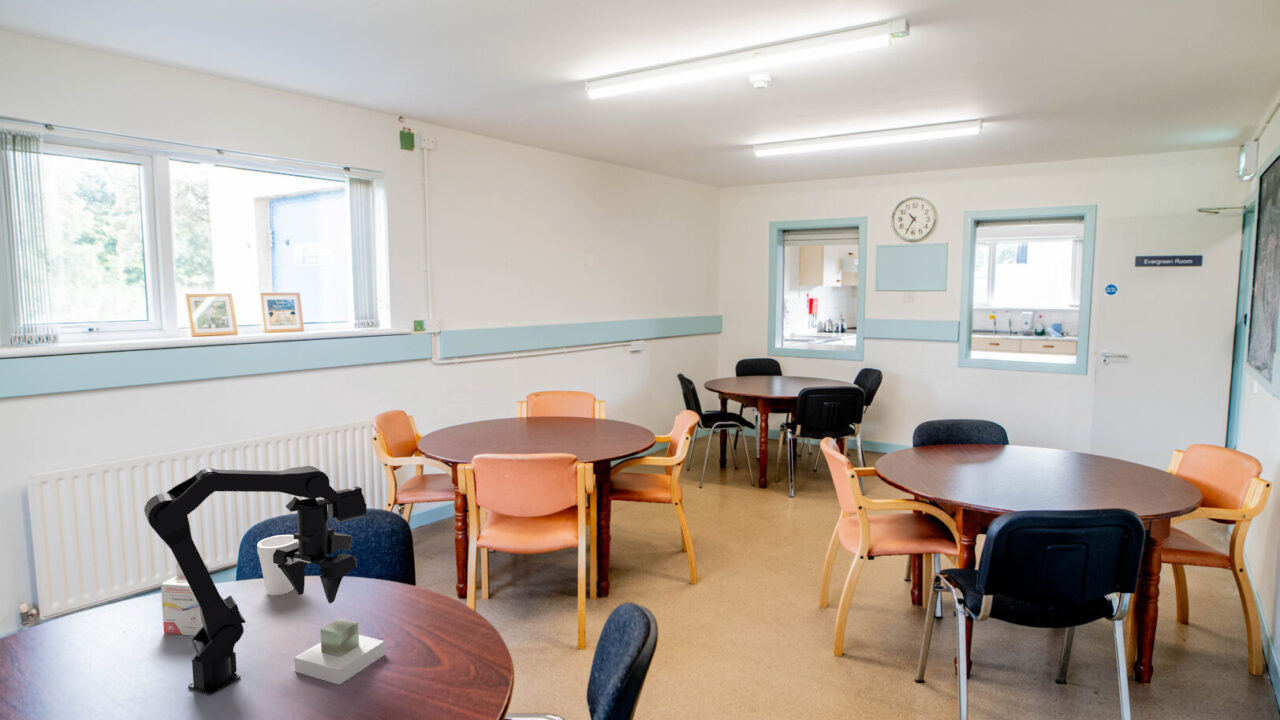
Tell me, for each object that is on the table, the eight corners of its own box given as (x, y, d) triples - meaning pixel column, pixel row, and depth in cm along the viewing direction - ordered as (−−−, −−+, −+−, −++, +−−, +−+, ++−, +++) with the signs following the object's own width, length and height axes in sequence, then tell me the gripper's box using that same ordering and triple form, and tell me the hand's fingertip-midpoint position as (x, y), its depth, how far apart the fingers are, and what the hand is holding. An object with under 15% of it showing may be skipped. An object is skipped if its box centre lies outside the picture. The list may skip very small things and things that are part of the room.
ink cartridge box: (162, 634, 150) (158, 571, 149) (179, 623, 155) (175, 562, 154) (197, 636, 149) (193, 572, 148) (214, 625, 154) (210, 563, 153)
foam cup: (288, 598, 168) (285, 548, 167) (252, 598, 168) (249, 547, 167) (308, 582, 177) (305, 534, 176) (273, 582, 178) (271, 534, 176)
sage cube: (339, 657, 135) (338, 633, 134) (321, 652, 137) (320, 628, 136) (359, 645, 139) (358, 622, 139) (341, 640, 141) (340, 618, 141)
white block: (339, 684, 130) (338, 670, 130) (295, 671, 135) (294, 657, 135) (384, 654, 141) (384, 641, 141) (342, 643, 146) (341, 630, 146)
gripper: (375, 521, 145) (377, 591, 146) (314, 510, 152) (317, 576, 154) (332, 538, 135) (335, 613, 136) (269, 525, 142) (273, 595, 144)
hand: (316, 598), depth 143 cm, fingers open, 9 cm apart
